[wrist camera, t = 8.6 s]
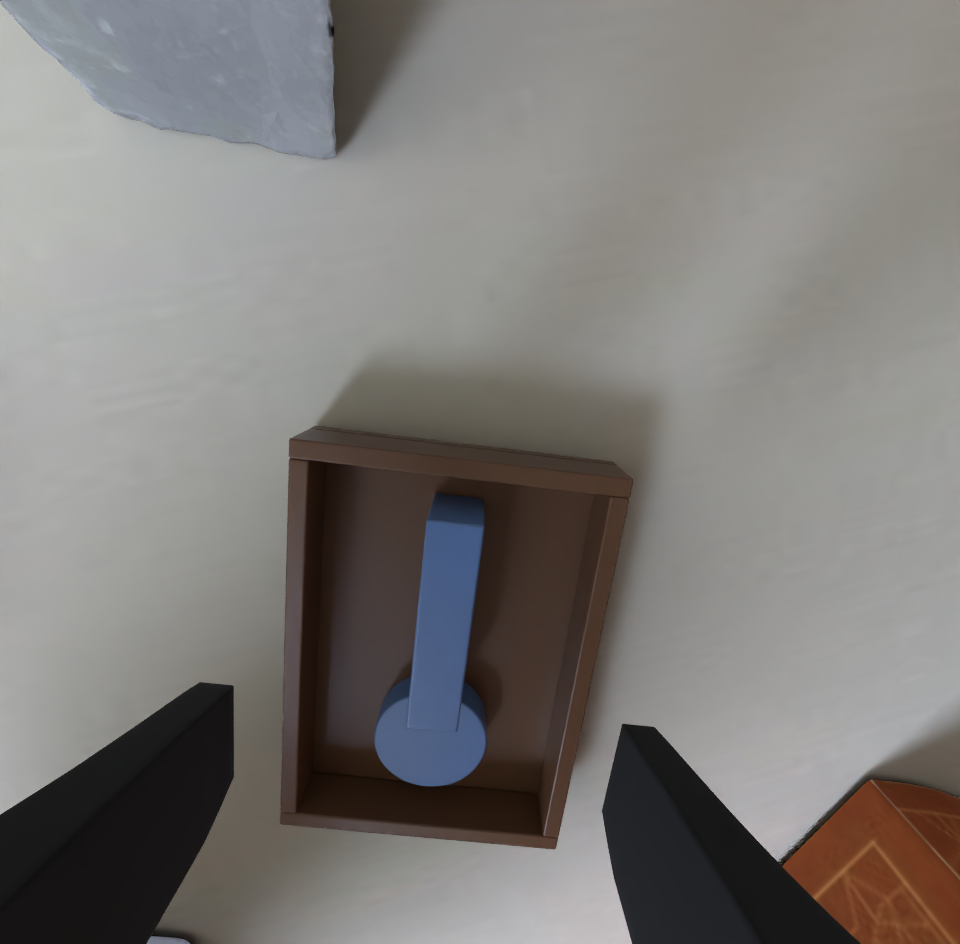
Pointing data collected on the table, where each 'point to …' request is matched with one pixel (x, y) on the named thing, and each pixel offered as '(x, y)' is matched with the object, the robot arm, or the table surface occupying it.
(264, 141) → the mineral specimen
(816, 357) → the table surface
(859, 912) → the book
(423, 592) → the blue spoon
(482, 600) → the tray
